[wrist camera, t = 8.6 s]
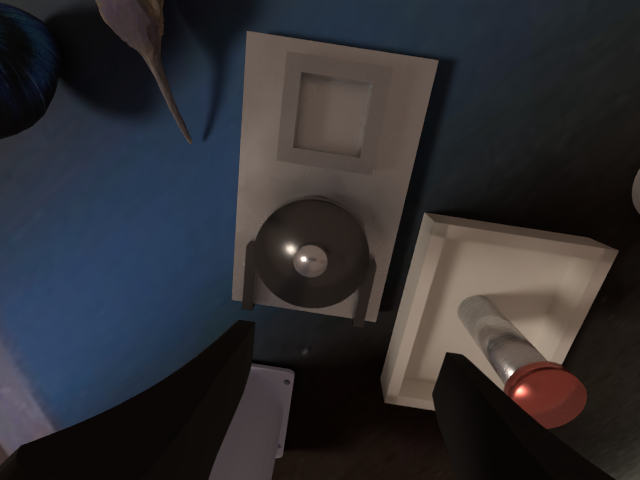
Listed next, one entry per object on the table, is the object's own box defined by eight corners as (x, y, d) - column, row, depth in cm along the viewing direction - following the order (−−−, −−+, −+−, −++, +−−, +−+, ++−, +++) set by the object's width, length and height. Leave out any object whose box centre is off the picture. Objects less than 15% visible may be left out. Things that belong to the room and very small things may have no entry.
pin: (493, 331, 22) (574, 431, 15) (447, 329, 22) (505, 426, 15) (504, 291, 21) (596, 376, 14) (455, 288, 21) (522, 371, 14)
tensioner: (373, 312, 23) (379, 338, 20) (237, 291, 23) (222, 314, 20) (432, 64, 17) (450, 52, 14) (252, 37, 17) (236, 19, 14)
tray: (513, 399, 25) (530, 425, 22) (380, 378, 25) (384, 402, 22) (588, 237, 20) (618, 250, 18) (424, 212, 20) (435, 222, 18)
